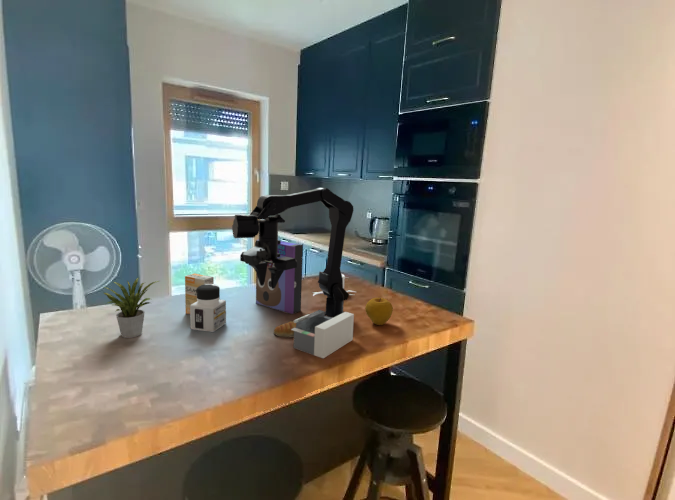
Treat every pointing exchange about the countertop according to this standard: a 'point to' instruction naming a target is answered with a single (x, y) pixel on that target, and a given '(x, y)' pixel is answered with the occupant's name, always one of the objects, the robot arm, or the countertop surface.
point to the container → (208, 309)
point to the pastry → (285, 329)
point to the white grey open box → (326, 335)
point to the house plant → (130, 309)
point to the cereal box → (283, 283)
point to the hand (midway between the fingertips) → (267, 286)
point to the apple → (379, 310)
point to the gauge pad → (310, 321)
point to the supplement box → (194, 288)
